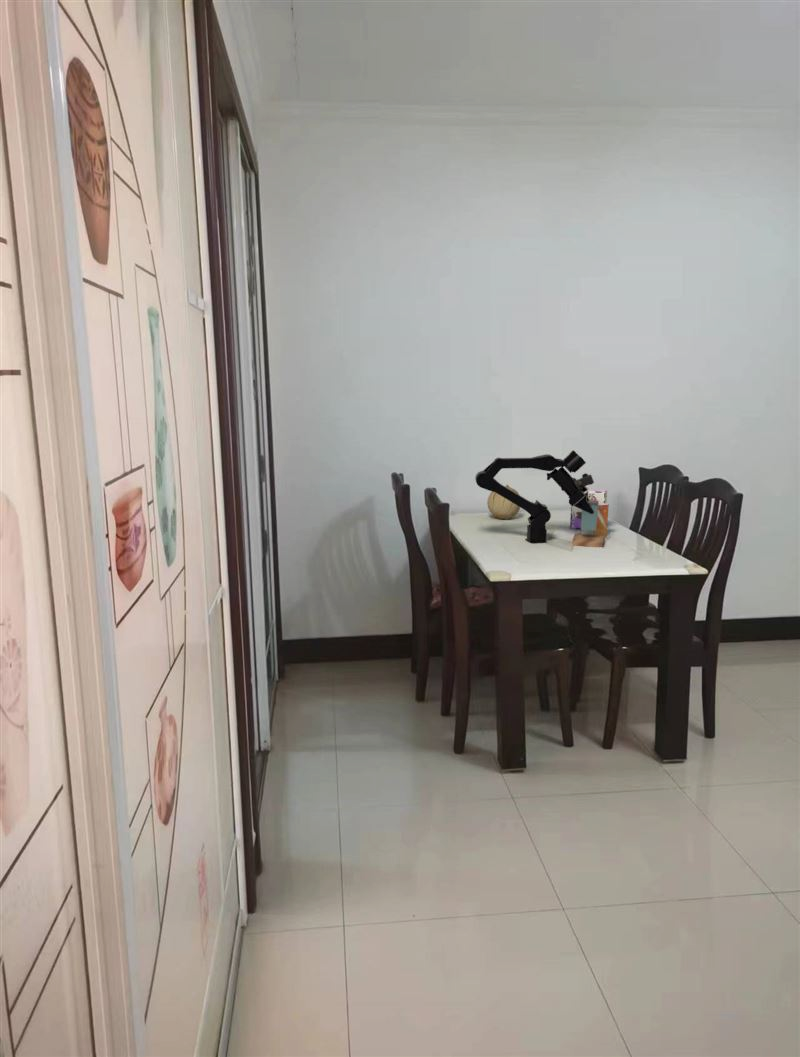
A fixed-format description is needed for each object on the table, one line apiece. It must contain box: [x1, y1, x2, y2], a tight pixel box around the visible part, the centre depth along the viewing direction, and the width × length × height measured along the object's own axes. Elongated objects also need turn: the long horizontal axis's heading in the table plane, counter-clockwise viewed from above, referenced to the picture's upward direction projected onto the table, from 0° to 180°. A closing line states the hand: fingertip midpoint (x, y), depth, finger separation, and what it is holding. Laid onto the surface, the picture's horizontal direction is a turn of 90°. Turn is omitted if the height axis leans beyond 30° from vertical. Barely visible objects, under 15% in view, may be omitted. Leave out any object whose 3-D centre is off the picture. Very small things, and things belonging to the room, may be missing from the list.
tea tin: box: [580, 500, 599, 531], centre depth 300 cm, size 6×6×10 cm
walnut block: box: [572, 533, 605, 548], centre depth 302 cm, size 11×11×3 cm
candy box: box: [569, 488, 608, 530], centre depth 329 cm, size 14×6×16 cm, turn 68°
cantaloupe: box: [487, 484, 521, 520], centre depth 351 cm, size 15×15×15 cm
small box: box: [581, 502, 609, 537], centre depth 315 cm, size 8×6×13 cm
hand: (593, 512), depth 299 cm, fingers closed on tea tin, 5 cm apart
